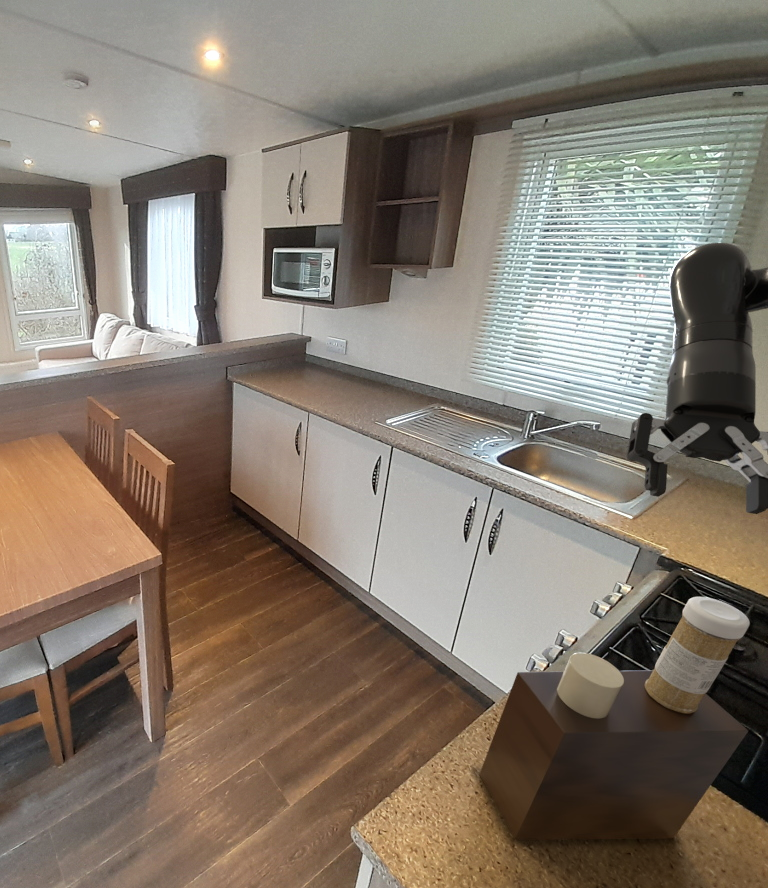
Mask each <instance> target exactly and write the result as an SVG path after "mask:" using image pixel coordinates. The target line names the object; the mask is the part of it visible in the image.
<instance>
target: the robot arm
mask: <svg viewBox="0 0 768 888" xmlns="http://www.w3.org/2000/svg"><path fill="white" fill-rule="evenodd" d="M669 294H670V302H671V309H672V316H673V321H674V332H673V336H672V348H671V349H672V350H671V361H670V364H669V368H668V373H667V374H668V375H667V378H666V386H667V391H666V405H665V409H666V410H665V419H661V418H656V417H655V418H654V416H653V415H652V414H651V413H650V412H649V413H648V412H644V413H642V414H640V415H639V416H638V417H637V418H636V419H635V420H634V421H632V423H631V429H630V433H629V440H628V445H627V451H626V459H627V460H628V461H630V462H637V463H640V464H642V465H643V466H644V468H645V474H644V486H643V487H644V489H645V490H646V491H648V492H649V495H650V496H652V497H661V496H662V495H664V494H665V493H666V491H667V481H668V463H665V461H667V460H668V459H670V458H671V457H673V456H674V455H676V454H678V453H680V454H682V455H684V456H685V457H686V458H692V459H701V458H702V459H706V460H707V461H711V462H712V461H713V462H719V463H720V462H722V461H724V462H725V463H726V464H727V465H728V466H729V467H730V468H731V469H732V470H733V471H737V472H739V473H740V474H741V475H742V476H743V477H744V478H745V479H746V480H747V481H748V482H749V483H747V484H746V486H745V512H746V513H747V514H753V515H759V514H761V513H763V512H765V511H766V510H768V463H767V462H766V460H764V454H762V452H760V451H759V450H758V449H757V448H756V446H755V445H753V443H755V442H757V443H759V444H760V445H761V449H762V450H763V451H767V454H768V431H762V430H759V428H758V427H757V426H756V424H755V418H756V411H757V409H756V406H757V405H756V401H757V400H756V399H757V398H756V397H757V396H756V389H757V388H756V387H757V386H756V376H757V375H756V373H757V372H756V371H757V369H756V361H755V358H754V351H753V344H754V343H753V341H754V340H753V337H754V336H753V322H752V318H751V316H750V314H749V313H753V312H758V311H762V310H768V266H767V267H762V268H756V269H753V268H752V265H751V262H750V260H749V258H748V255H747V253H746V252H745V251H744V250H743V249H742V248H740V247H739V246H737V245H735V244H732V243H729V242H710V243H706V244H702V245H699V246H697V247H695V248H693V249H691V250H690V251H688V252H686V253H684V255H683V256H682V257H681V258H680V259H679V260H677V262H676V263H675V265H674V266H673V268H672V270H671V272H670V276H669ZM657 430H660V432H661V433H662V434H663V435H664V436H665V438H666V439H667V440H668V441H669V442H670V443H669V444H667V445H666V446H664V447H663V448H661V449H660V450H659V451H658V452H653V451H650V450H649V445H650V437H651V435H653V434H654V433H655V432H656V431H657ZM739 454H741V455H742V457H740V455H739Z"/></svg>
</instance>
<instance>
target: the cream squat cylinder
mask: <svg viewBox="0 0 768 888" xmlns="http://www.w3.org/2000/svg"><path fill="white" fill-rule="evenodd" d="M620 671H621V670H619V668H617V667H616V666H614V665H613V664H612V663H610V662H609V661H608V660H606V659H604V658H602V657H600V656H597V655H595V654H591V653H587V652H575V653H573V654H571V655H570V656H569V659H568V661H567V663H566V665H565V667H564V670H563V671H562V672H563V675H562V677H561V679H560V682H559V684H558V686H557V693H558V695H559V697H560V698H561V700H562V701H563V702H564V703H565V704H566V705H567V706H568V707H570V708H571V709H573V710H574V711H576V712H578V713H580V714H582V715H584V716H587V717H590V718H596V719H600V718H604V717H606V716H607V715H608V714H609V712H610V710H611V708H612V706H613V704H614V702H615V700H616V698H617V696H618V694H619V692H620V690H621V688H622V686H623V684H624V678H623V676H622V674H621V673H620Z"/></svg>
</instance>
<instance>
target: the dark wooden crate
mask: <svg viewBox="0 0 768 888" xmlns="http://www.w3.org/2000/svg"><path fill="white" fill-rule="evenodd" d="M653 670H654V669H652V670H650V669H648V670H646V669H645V670H619V671H620V673H621V674H622V676H623V678H624V684H623V686H622V688H621V690H620V692H619V694H618V696H617V698H616V700H615V702H614V704H613V706H612V708H611V710H610V712H609V714H608V715H607V716H606V717H604V718H600V719H596V718H590V717H587V716H584V715H582V714H580V713H578V712H576V711H574V710H573V709H571V708H570V707H568V706H567V705H566V704H565V703H564V702H563V701H562V700H561V698H560V697H559V695H558V693H557V686H558V684H559V682H560V679H561V677H562V675H563V672H564V671H518V672H517V673H516V676H515V677H514V681H513V683H512V686H511V689H510V692H509V694H508V697H507V699H506V702H505V705H504V708H503V710H502V713H501V716H500V718H499V720H498V724H497V726H496V729H495V730H494V731H495V732H494V734H493V737H492V740H491V742H490V744H489V748H488V750H487V753H486V756H485V759H484V761H483V764H482V766H481V769H480V771H479V774H478V775H479V777H480V779H481V781H482V783H483V785H484V786H485V788H486V790H487V791H488V793H489V795H490V797H491V798H492V801H493V802H494V804H495V806H496V808H497V809H498V811H499V813H500V815H501V817H502V819H503V820H504V822H505V824H506V826H507V827H508V830H509V831H510V833H511V835H512V836H513V839H514V840H516V841H517V840H521V841H523V840H524V841H525V840H528V841H529V840H629V839H630V840H632V839H637V840H638V839H639V840H640V839H641V840H642V839H674V838H675V837H676V836H677V834H678V832H679V831H680V830H681V828H682V827H683V825H684V824H685V823H686V821H687V819H688V818H689V817H690V816H691V814H692V812H693V811H694V810H695V808H696V807H697V805H698V804H699V802H700V801H701V799H702V798H703V797H704V795H705V794H706V793H707V791H708V790H709V788H710V787H711V785H712V784H713V783H714V781H715V779H716V778H717V777H718V776H719V774H720V773H721V771H722V770H723V768H724V767H725V765H726V764H727V763H728V761H729V760H730V759H731V757H732V755H733V754H734V753H735V751H736V750H737V748H738V747H739V745H740V744H741V742H742V741H743V740H744V738H745V737H746V736H747V734H748V732H749V730H748V729H747V728H746V727H745V726H743V724H742V723H740V722H739V721H737V719H736V718H734V717H733V716H732V715H731V714H730V713H729V712H728V711H726V709H724V708H723V707H722V706H721V705H720V704H718V703H717V702H716V701H715V700H714V699H713V698H712V697H710V695H708V694H707V692H706V693H705V694H704V696H703V697H702V699H701V701H700V702H699V704H698V709H697V710H696V711H695V712H692V713H686V714H685V713H681V712H676V711H674V710H671V709H668V708H666V707H665V706H663V705H661V704H660V703H658V702H657V701H656V700H655V699H653V698H652V697H651V696H650V695H649V694H648V692H647V691H646V688H645V682H646V681H647V680H648V679H649V678H650V676H651V674H652V672H653Z"/></svg>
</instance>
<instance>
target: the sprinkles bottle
mask: <svg viewBox="0 0 768 888" xmlns="http://www.w3.org/2000/svg"><path fill="white" fill-rule="evenodd" d="M681 616H682V617H681V618H680V620H679V622H678V624H677V625H676V627H675V629H674V630H673V632H672V634H671V635H670V638H669V640H668V642H667V644H666V645H665V646H664V648H663V649H662V651H661V654H659V657H658V659H657V660H656V663H655V665H654V669H652V670H653V672H652V674H651V676H650V678H649V679H648V680H647V681H646V682H645V688H646V691H647V692H648V694H649V695H650V696H651V697H652V698H653V699H655V700H656V701H657V702H658V703H660V704H661V705H663V706H665V707H666V708H668V709H671V710H674V711H676V712H681V713H685V714H686V713H692V712H695V711H696V710H697V709H698V704H699V702H700V701H701V699H702V697H703V696H704V694H705V693H706V694H707V693H708V691H709V689H710V688H711V686H713V683H714V682H715V680H716V678H717V677H718V675H719V674H720V672H721V670H722V668H723V667H724V665H725V664H726V662H727V660H728V659H729V655H730V654H731V652H732V651H733V648H734V647H735V645H736V643H737V642H738V641H740V640H741V638H744V636H745V634H746V632H747V631H748V630H749V627H750V625H751V623H750V619H749V618H748V616H747V615H746V614H745V613H744V612H742V611H741V610H739V609H738V608H737V607H735V606H733V605H731V604H729V603H728V602H727V603H726V602H724V601H721V600H718V599H715V598H712V597H707V596H693V597H691V598H689V599H688V600H687V602H686V604H685V605H684V607H683V608H682V614H681Z"/></svg>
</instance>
